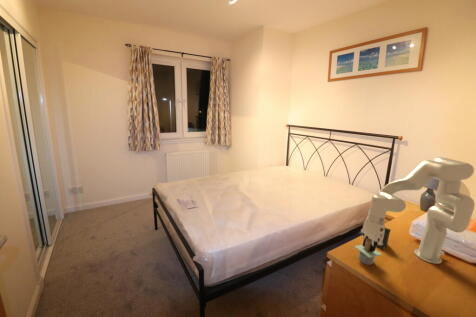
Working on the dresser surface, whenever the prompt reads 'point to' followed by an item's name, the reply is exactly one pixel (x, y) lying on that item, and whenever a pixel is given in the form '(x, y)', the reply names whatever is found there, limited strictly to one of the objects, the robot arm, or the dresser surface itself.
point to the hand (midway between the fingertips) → (368, 248)
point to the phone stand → (384, 239)
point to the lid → (367, 249)
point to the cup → (365, 259)
